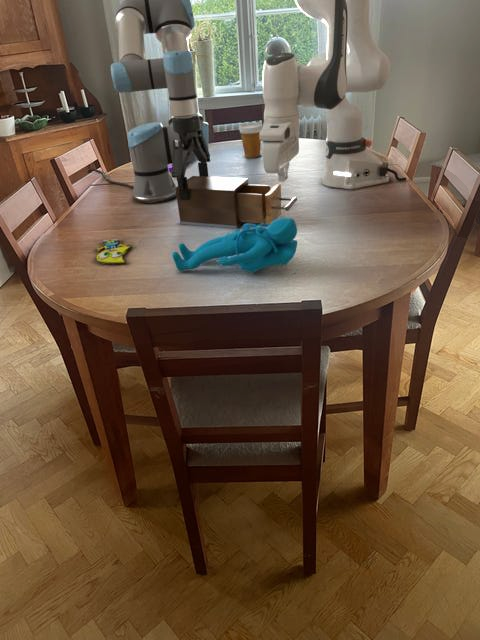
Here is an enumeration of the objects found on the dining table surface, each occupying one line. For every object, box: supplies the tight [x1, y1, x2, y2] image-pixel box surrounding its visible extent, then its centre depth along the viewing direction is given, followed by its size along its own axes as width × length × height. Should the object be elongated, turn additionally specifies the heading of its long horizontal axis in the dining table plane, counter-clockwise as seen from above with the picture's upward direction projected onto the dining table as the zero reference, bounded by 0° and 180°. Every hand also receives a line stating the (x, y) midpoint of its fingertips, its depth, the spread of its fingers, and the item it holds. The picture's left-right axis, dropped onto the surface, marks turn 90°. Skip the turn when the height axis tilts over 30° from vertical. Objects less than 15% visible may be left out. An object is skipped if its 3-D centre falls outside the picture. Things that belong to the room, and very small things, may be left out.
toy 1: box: [95, 238, 133, 265], centre depth 129 cm, size 10×1×15 cm
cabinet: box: [175, 175, 249, 229], centre depth 142 cm, size 18×11×11 cm, turn 68°
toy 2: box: [171, 217, 298, 274], centre depth 113 cm, size 17×11×30 cm
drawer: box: [235, 183, 298, 225], centre depth 137 cm, size 22×10×9 cm, turn 68°
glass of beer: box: [239, 123, 263, 159], centre depth 199 cm, size 10×10×12 cm
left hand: (195, 191), depth 142 cm, fingers open, 13 cm apart
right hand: (283, 180), depth 130 cm, fingers closed
